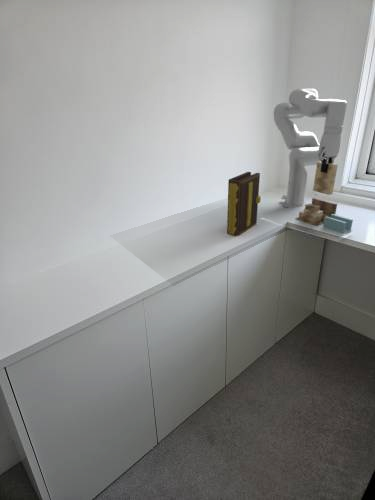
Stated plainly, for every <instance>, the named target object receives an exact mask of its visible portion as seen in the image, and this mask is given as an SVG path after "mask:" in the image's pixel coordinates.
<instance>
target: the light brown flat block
mask: <svg viewBox="0 0 375 500" xmlns="http://www.w3.org/2000/svg"><path fill="white" fill-rule="evenodd" d="M328 164H329V165H328V170H327V173H324V172H321V165H322V163H321V161H320V162H317V165H316V169H315V175H314V181H313V187H312V188H313V189H312V191H313V192H316V193H321V194H324V195H327V196H331V195H333V194H334V187H335V182H336V176H337V172H338V165H339V164H337V163H334V162H333V163H328Z"/></svg>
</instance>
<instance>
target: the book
mask: <svg viewBox="0 0 375 500" xmlns="http://www.w3.org/2000/svg"><path fill="white" fill-rule="evenodd" d="M260 177H261V173H260V172H255V173H253V174H252V172H251V171H246V172H244V173H241V174H239V175H236V176H234V177H232V178H230V179H228V184H227V185H228V187H227V191H228V192H227V219H226V220H227V221H226V222H227V223H226V234H227V235H229V236H233V237H238V236H241V235H243V234H244V233H246V232H247V231H248V230H249V229H251V228H253V227H254V226H256V225H257V219H258V206H259V205H258V204H260V203H261V200H262V199H261V196H260V194H259V192H260V179H261V178H260Z"/></svg>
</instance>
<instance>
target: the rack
mask: <svg viewBox="0 0 375 500" xmlns="http://www.w3.org/2000/svg"><path fill="white" fill-rule="evenodd" d="M337 206H338V203H335V202H331V201H327V200H322V199H320V198H315V197H312V199H311V203H306V205H305V206H304V209H303V210H301V211H299V212H298V217H295V218H294V220H296V221H300V222H302V223H305V224H309V225H312V226H316V227H319V226H321V225H322V226H323V224H324V218H325V217H326V216H327V217H330V218H331V214H335V215H336V212H337Z"/></svg>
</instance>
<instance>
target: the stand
mask: <svg viewBox="0 0 375 500" xmlns="http://www.w3.org/2000/svg"><path fill="white" fill-rule="evenodd" d="M353 222H354V219H352V218H348V217H344V216H342V215H337V214H336V213H335V214H331V218H330V217H327V216H326V217H325V218H324V224H322V227H324V228H326V229H329V230H332V231H335V232H338V233H341V234H345V232H346V230H347V231H351V230H352V226H353Z"/></svg>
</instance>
